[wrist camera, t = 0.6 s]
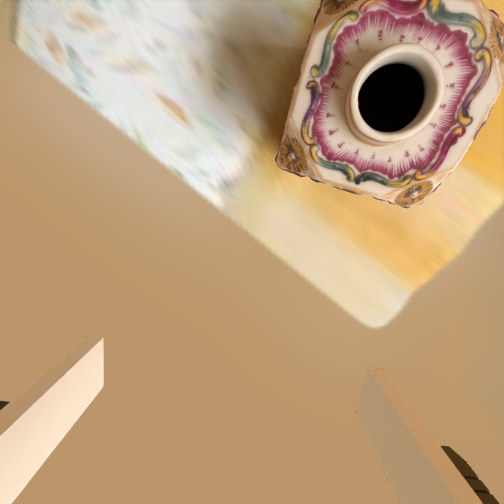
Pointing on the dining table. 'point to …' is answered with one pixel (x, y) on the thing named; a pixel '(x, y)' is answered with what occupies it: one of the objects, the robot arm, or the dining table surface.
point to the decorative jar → (392, 94)
